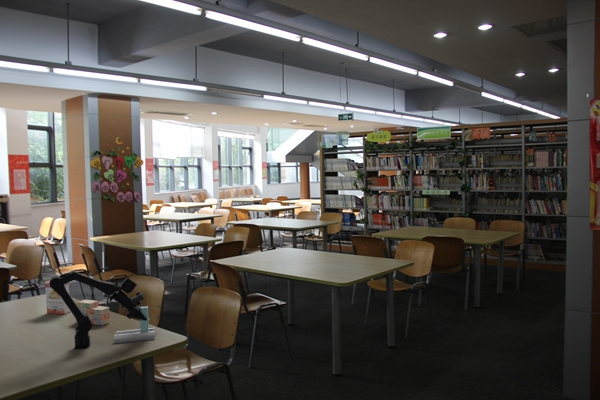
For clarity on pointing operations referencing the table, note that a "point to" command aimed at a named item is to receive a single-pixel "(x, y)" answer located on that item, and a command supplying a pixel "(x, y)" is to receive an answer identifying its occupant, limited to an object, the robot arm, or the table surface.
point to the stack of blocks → (94, 311)
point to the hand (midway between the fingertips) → (147, 319)
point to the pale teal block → (144, 324)
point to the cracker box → (55, 300)
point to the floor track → (134, 336)
